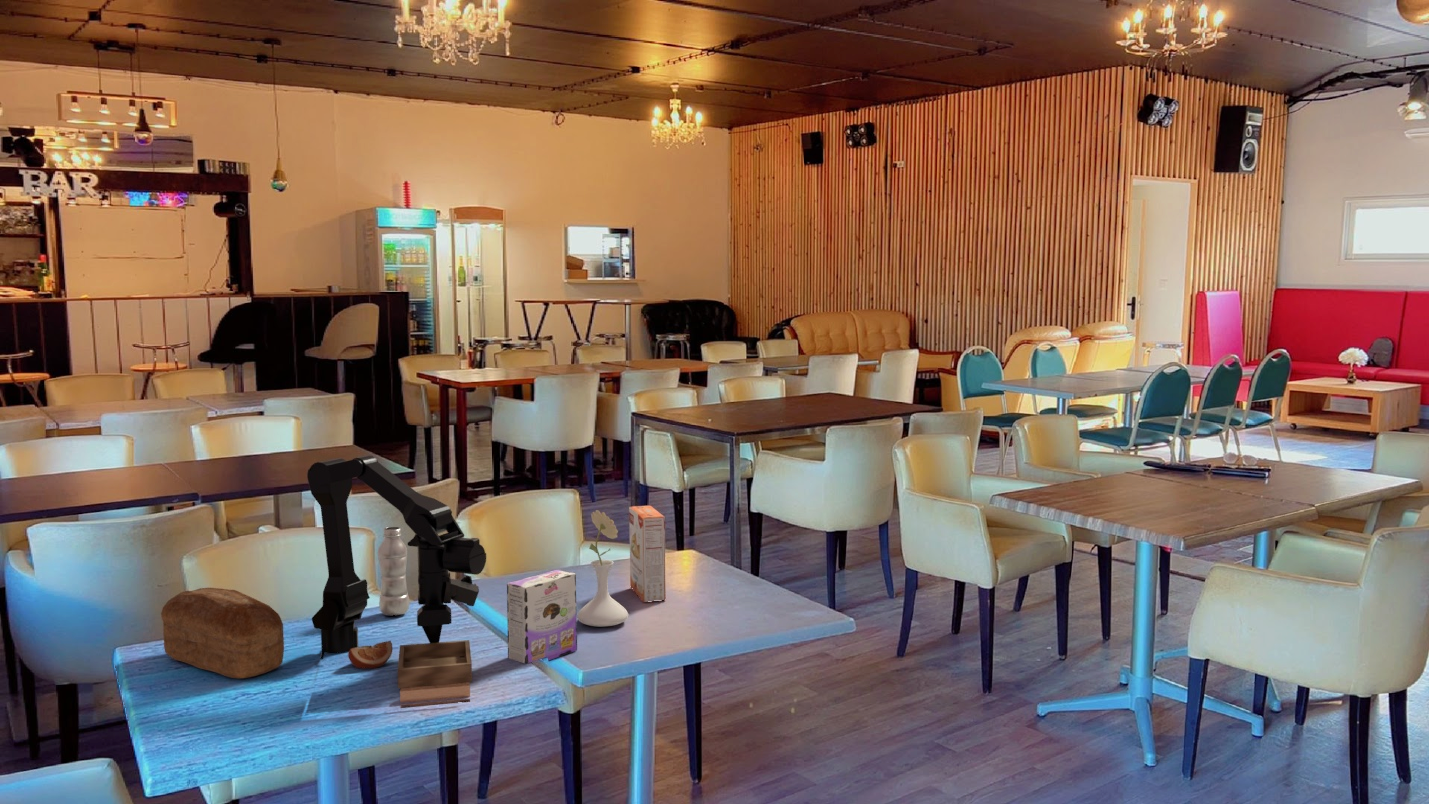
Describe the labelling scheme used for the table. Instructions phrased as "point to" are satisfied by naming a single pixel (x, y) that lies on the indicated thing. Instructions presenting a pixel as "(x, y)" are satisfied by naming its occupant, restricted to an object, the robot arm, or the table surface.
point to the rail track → (434, 694)
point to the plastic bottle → (393, 573)
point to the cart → (434, 664)
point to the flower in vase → (602, 583)
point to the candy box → (542, 616)
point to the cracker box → (647, 553)
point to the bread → (223, 632)
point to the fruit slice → (370, 655)
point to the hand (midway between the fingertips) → (435, 647)
